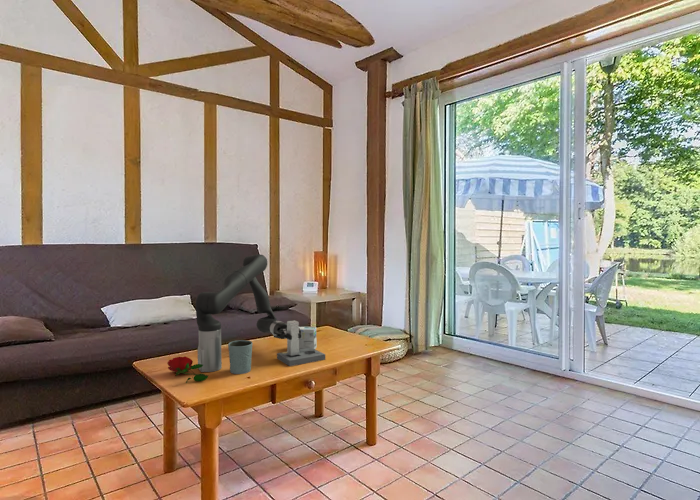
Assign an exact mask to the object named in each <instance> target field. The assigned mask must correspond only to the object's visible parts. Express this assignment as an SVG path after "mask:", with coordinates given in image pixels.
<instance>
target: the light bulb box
mask: <svg viewBox="0 0 700 500" xmlns="http://www.w3.org/2000/svg"><path fill="white" fill-rule="evenodd" d="M299 328H300V330H301V338H300V339H299V350H300V349H306V348H313V349H315V350H317V347H318V346H317V326H299Z"/></svg>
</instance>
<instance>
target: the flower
mask: <svg viewBox="0 0 700 500" xmlns="http://www.w3.org/2000/svg"><path fill="white" fill-rule="evenodd" d="M193 361H194V360H192V359H191V358H189V357H188V356H176V357H173V358H172V359H169V360H168V361H167V365H168V367H167V369H168V370H170V371H171V372H175V375H174V377H177V376H179V375H180V374H184V375H189V373H188V372H190V371H191V372H193V371H192V370H196V369H198V368H200V367H202V366H203V365H202V364H198V363H196V364H193ZM198 370H199V369H198ZM190 375H193V376H192V377H187V379H186V381H185V383H186V384H187V383H188V381H190V380H192V379H193V381H194V382H203V381H206V380H207V379H208V378H209V374H208V375H207V374H204V373H190Z"/></svg>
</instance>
